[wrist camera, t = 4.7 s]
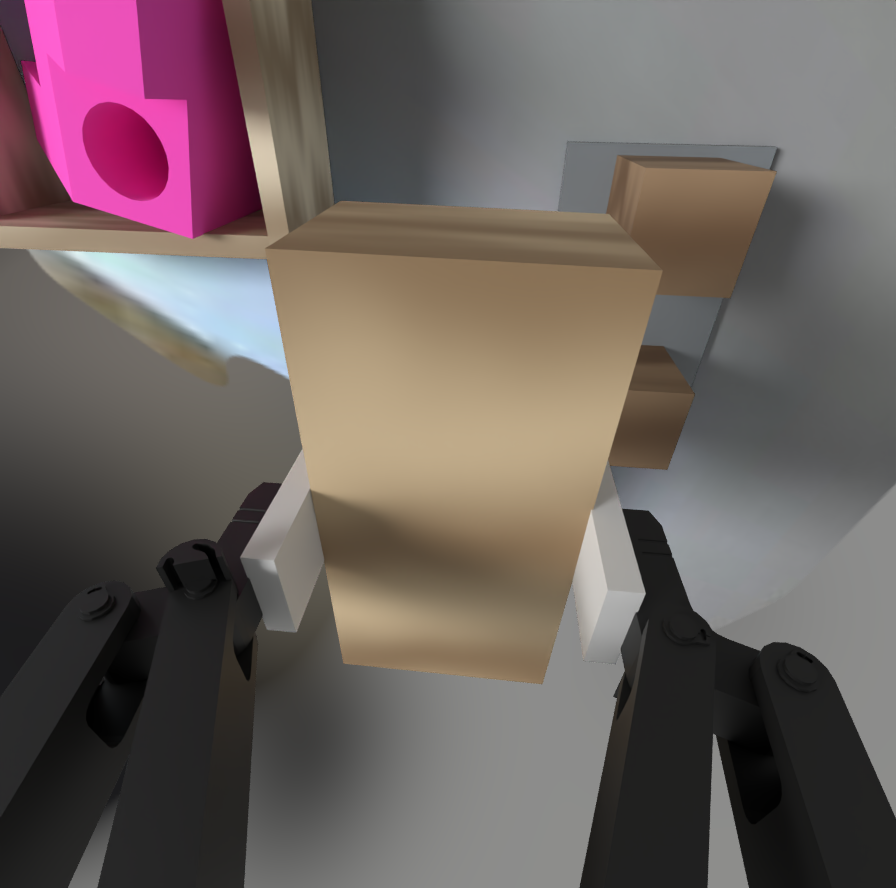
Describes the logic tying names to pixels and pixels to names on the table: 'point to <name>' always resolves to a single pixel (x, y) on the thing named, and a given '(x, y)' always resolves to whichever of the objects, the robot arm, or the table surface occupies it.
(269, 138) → the wooden open box
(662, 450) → the pillar
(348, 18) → the table surface
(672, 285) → the pillar
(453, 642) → the lintel
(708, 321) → the mat
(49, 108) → the bracket
